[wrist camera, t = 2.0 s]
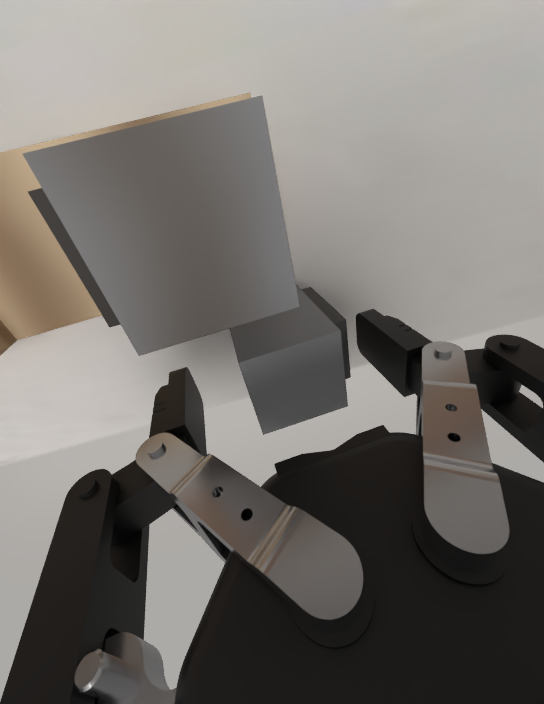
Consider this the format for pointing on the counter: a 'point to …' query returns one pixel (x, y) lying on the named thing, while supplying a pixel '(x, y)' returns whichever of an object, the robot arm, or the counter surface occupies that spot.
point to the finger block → (294, 362)
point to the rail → (146, 228)
